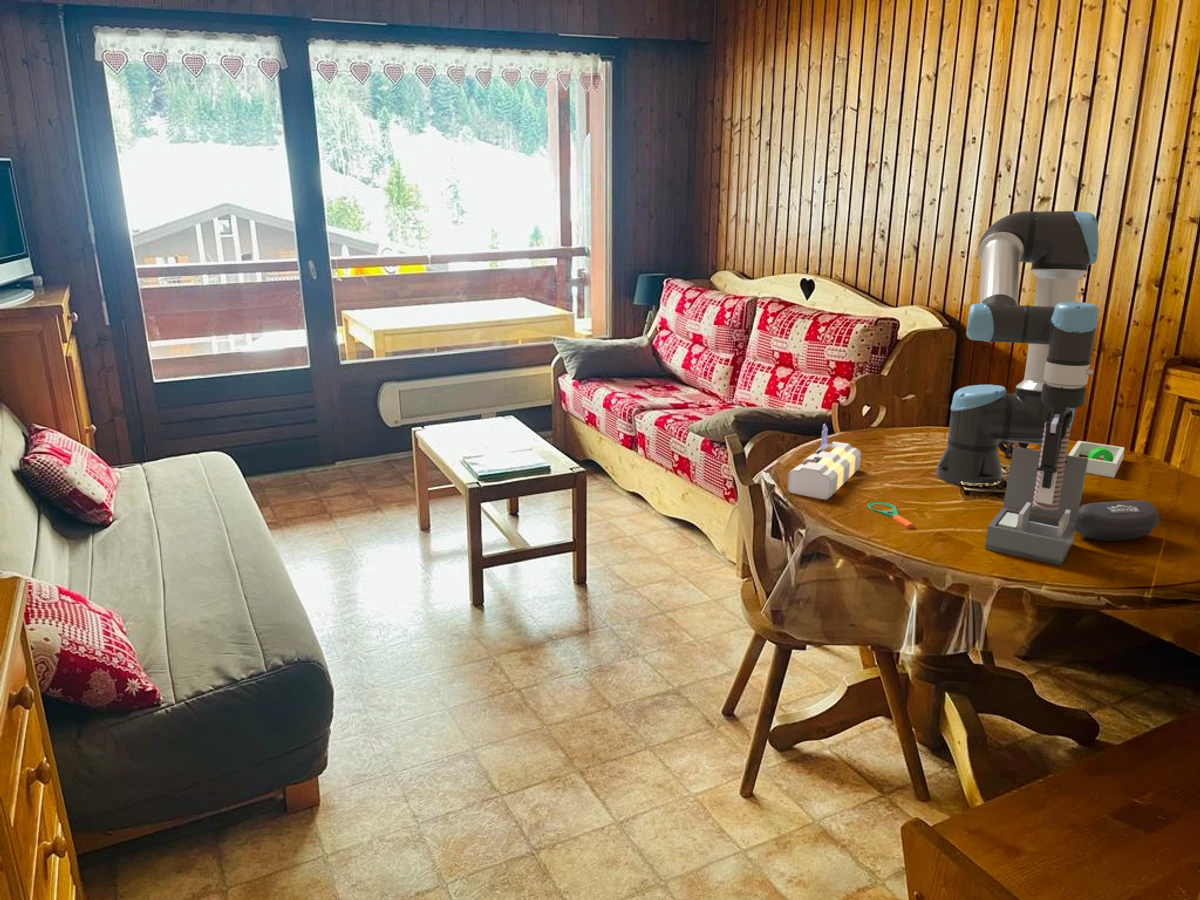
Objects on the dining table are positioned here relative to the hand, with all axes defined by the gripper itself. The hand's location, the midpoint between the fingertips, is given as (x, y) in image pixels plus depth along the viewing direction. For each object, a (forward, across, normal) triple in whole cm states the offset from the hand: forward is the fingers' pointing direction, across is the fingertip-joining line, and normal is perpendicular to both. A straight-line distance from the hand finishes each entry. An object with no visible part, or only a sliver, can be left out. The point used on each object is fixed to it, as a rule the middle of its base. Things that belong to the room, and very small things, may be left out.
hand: (1047, 498), depth 173 cm
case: (+11, 0, +2) cm, 11 cm away
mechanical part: (+13, +65, -6) cm, 67 cm away
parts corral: (+10, +67, -1) cm, 68 cm away
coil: (+3, 0, 0) cm, 3 cm away
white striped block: (+11, +13, +51) cm, 54 cm away
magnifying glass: (+12, +1, +30) cm, 32 cm away
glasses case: (+11, +16, -11) cm, 22 cm away
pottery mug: (+12, +61, +17) cm, 65 cm away
